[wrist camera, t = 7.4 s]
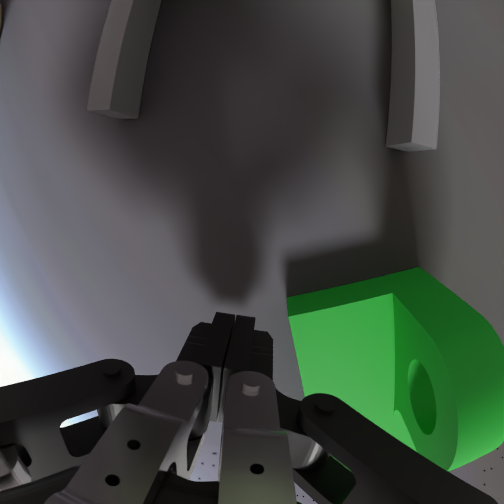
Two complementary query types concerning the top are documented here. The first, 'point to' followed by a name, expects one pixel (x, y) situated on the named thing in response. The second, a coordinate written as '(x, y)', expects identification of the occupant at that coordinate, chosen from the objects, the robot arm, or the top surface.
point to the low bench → (402, 68)
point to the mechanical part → (406, 362)
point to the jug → (0, 17)
